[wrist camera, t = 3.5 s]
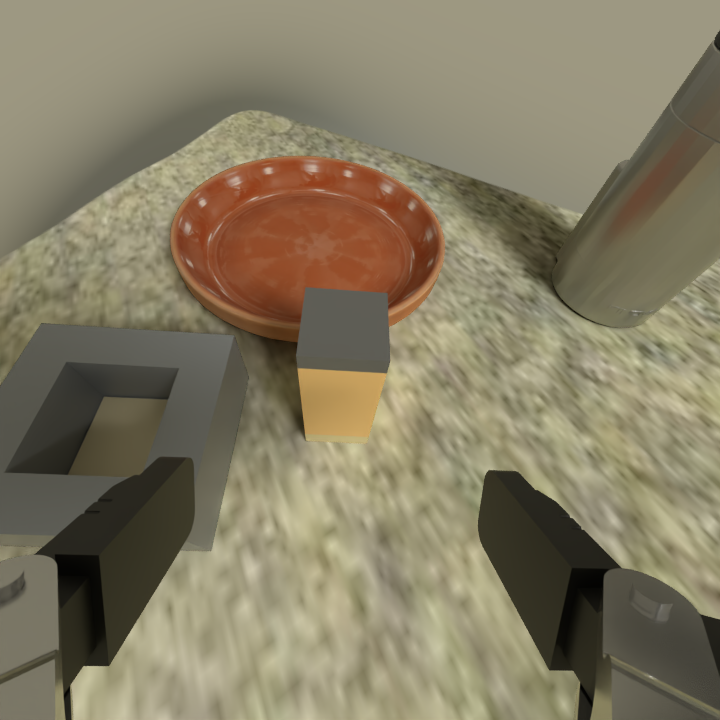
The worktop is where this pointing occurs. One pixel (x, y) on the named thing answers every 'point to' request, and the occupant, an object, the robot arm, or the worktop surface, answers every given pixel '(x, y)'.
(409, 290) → the saucer
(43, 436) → the socket block
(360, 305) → the plug
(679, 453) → the worktop surface
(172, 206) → the worktop surface
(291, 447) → the worktop surface
